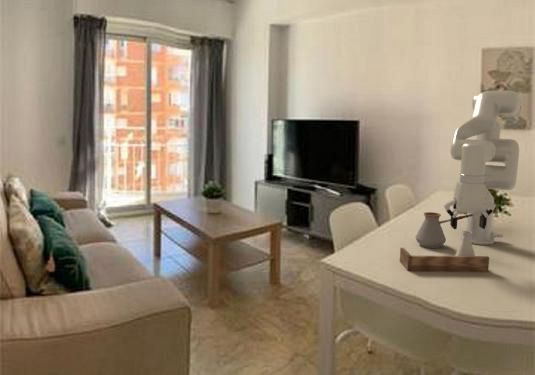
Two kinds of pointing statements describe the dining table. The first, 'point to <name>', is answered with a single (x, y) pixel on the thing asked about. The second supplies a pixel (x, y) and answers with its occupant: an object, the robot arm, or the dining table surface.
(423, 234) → the coffee pot
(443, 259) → the wooden block
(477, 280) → the dining table surface
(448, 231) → the dining table surface
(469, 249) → the flask
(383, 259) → the dining table surface
